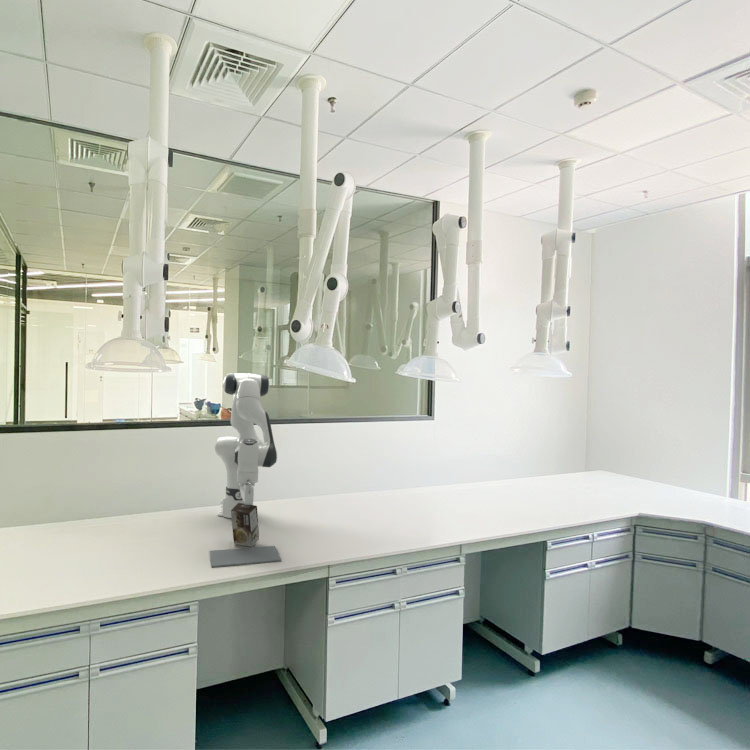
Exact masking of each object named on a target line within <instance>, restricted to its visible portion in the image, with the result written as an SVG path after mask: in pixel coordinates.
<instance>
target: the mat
mask: <svg viewBox="0 0 750 750" xmlns="http://www.w3.org/2000/svg"><path fill="white" fill-rule="evenodd" d="M209 556H210V563H211V564H210V566H211V568H220V567H222V568H223V567H234V566H235V567H236V566H244V565H245V566H246V565H255V564H266V563H267V562H268V563H277V561H279V562H278V563H280V562H282V558H281V555H280V554H279V551H278V549H277V547H276V545H265V546H264V545H263V546H253V547H242V548H241V547H239V548H238V547H237V548H230V549H229V548H227V549H218V550H217V549H213V550H209Z"/></svg>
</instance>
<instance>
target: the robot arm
mask: <svg viewBox="0 0 750 750" xmlns="http://www.w3.org/2000/svg"><path fill="white" fill-rule="evenodd" d="M222 387H223V390H224V392H225V394H227V395H232V396H233V397H232V402H231V413H230V425H231V427H232V428H233V429H235V430H237V433H238V435H239V436H232V435H226V436H220V437H219V438H217V440H216V441H215V444H214V449H215V450H214V451H215V453H216V455H217V456H219V458H220V459H221V460H222V462H223V464H224V466H225V468H226V487H225V496H224V497H223V498H222V499H221V500H220V504H221V506H220V509H219V510H218V512H217V516H219V517H223V518H228V519H232V518H231V510H232V509H233V508H234V507H235V506H236V505H237V504H238V503H243V504H245V505H254V499H255V498H254V497H255V496H254V495H255V494H254V489H255V488H254V487H255V485H256V484H257V483H258V482H259V467H262V468H271V467H273V466H274V465H275V464H276V463H277V460H278V451H277V448H276V445H275V440H274V435H273V429H272V424H271V421H270V416H269V414H268V412H267V411H266V410H264V408H263V407H262V403H261V399H262V398H261V397H265V396H266V395H267V394H268V392H269V390H270V387H271V385H270V379H269V377H268V376H267V375H264V374H258V373H257V374H256V373H247V372H246V373H242V372H241V373H240V372H237V373H234V372H231V373H227V374H225V377H224V378H223V380H222ZM254 424H255V425H256V426H258V427H259V428H260V429H261V431H262V437H263V440H262V439H261V438H260V437H259V436H258V435H257V432H256V430H255V425H254Z"/></svg>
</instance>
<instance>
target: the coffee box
mask: <svg viewBox="0 0 750 750" xmlns="http://www.w3.org/2000/svg"><path fill="white" fill-rule="evenodd" d="M230 519H231V526H232V536H233V537H232V538H233V544H235V545H240V546H246V547H248V548H251V547H255V545H256V544H257V542H258V541H259V540H260V532H259V517H258V506H257V505H254V504H253V505H245V504H243V503H238V504H237V505H236V506H235V507H234V508H233V509H232V510H231V518H230Z"/></svg>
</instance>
